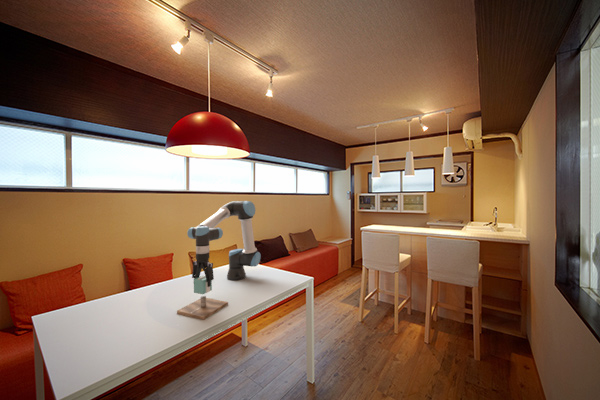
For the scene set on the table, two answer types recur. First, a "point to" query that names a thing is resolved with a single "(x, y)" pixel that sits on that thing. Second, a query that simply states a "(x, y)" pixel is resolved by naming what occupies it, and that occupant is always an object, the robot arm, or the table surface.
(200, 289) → the teal rectangular block
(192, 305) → the wooden peg board
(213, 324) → the table surface
